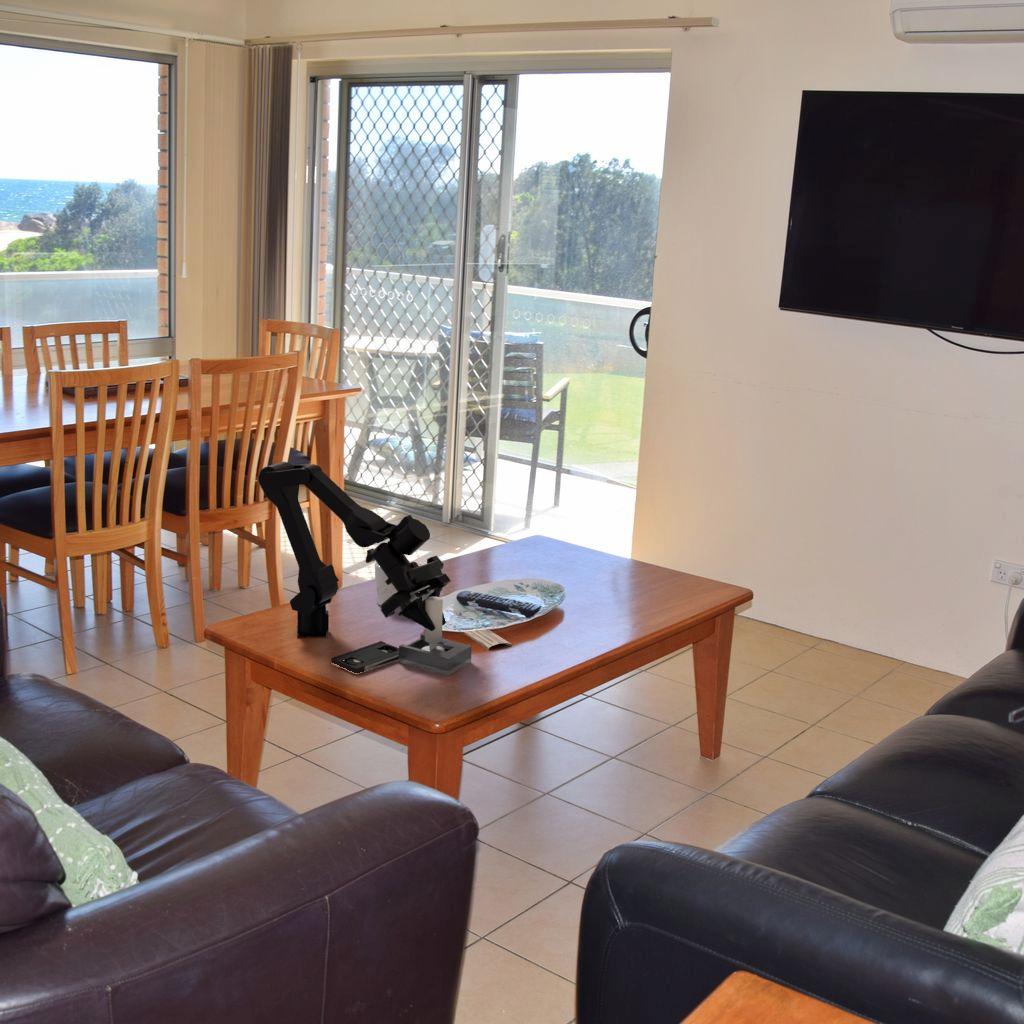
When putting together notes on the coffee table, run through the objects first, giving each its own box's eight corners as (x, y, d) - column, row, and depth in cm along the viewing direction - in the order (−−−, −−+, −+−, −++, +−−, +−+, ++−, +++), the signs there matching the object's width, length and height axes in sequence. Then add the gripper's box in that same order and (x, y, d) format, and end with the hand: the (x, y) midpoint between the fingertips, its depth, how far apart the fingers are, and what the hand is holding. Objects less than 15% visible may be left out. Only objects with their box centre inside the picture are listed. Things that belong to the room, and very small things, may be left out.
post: (417, 657, 250) (419, 601, 247) (425, 649, 255) (426, 594, 252) (440, 660, 249) (442, 604, 246) (447, 652, 254) (449, 597, 251)
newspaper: (437, 619, 280) (437, 611, 279) (463, 614, 284) (463, 607, 283) (488, 653, 261) (488, 645, 260) (515, 647, 264) (516, 640, 264)
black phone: (356, 677, 244) (356, 668, 244) (331, 666, 249) (331, 657, 249) (406, 659, 255) (406, 650, 254) (380, 649, 260) (381, 640, 259)
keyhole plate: (398, 662, 251) (399, 645, 250) (422, 649, 259) (423, 633, 258) (447, 675, 246) (448, 658, 245) (471, 662, 253) (471, 645, 252)
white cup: (368, 605, 285) (368, 565, 283) (383, 595, 292) (384, 556, 290) (397, 610, 282) (398, 570, 280) (412, 600, 289) (413, 561, 287)
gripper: (393, 557, 240) (437, 619, 238) (444, 536, 256) (486, 595, 253) (361, 586, 246) (404, 648, 244) (413, 564, 262) (454, 622, 259)
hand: (439, 627), depth 250 cm, fingers closed on post, 4 cm apart
